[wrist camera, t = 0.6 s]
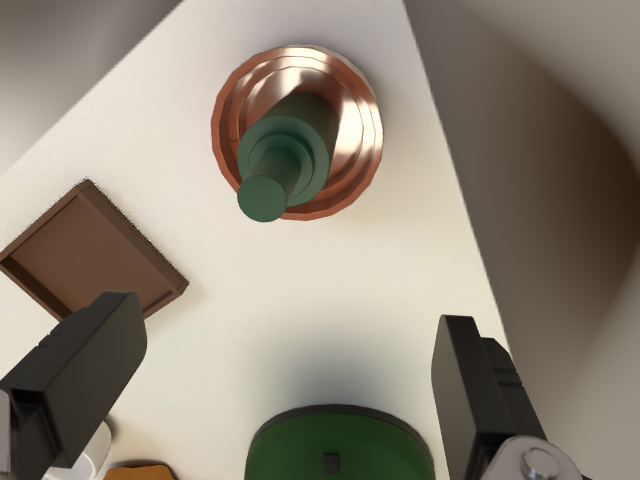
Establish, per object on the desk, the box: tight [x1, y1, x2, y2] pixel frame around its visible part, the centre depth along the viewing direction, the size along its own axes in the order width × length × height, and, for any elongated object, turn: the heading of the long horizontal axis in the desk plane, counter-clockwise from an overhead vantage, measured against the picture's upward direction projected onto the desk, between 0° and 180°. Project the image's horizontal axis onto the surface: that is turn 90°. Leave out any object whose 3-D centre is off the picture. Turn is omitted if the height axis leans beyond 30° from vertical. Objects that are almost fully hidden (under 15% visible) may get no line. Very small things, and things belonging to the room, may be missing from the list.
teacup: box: [44, 420, 111, 480], centre depth 51 cm, size 10×8×5 cm
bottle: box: [237, 91, 339, 222], centre depth 28 cm, size 6×6×16 cm
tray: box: [0, 179, 189, 322], centre depth 42 cm, size 13×13×2 cm
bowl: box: [211, 44, 384, 221], centre depth 33 cm, size 12×12×5 cm
